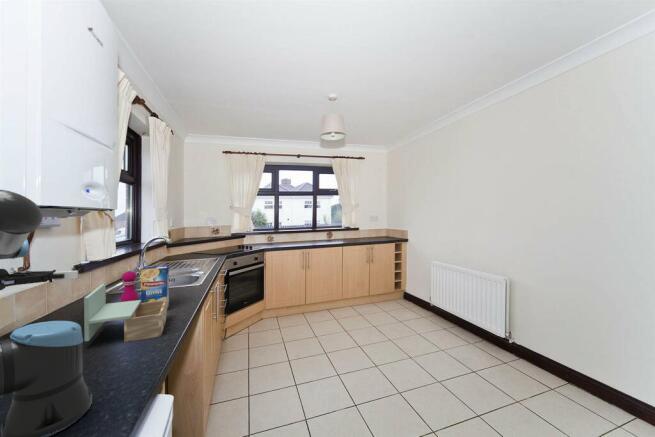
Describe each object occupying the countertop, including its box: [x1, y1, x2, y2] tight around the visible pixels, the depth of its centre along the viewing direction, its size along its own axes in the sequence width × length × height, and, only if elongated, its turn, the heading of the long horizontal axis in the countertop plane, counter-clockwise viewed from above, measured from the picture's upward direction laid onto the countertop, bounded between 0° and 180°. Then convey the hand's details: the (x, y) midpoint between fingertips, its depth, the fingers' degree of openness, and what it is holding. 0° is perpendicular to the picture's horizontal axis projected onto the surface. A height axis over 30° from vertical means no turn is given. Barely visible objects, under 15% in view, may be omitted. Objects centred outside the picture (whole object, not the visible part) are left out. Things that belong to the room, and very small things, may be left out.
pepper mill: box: [120, 268, 139, 302], centre depth 134 cm, size 7×7×20 cm
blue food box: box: [140, 264, 170, 312], centre depth 131 cm, size 7×11×22 cm, turn 115°
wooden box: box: [123, 300, 167, 343], centre depth 110 cm, size 18×12×9 cm, turn 26°
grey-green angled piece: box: [83, 283, 141, 342], centre depth 105 cm, size 19×14×16 cm
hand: (77, 274), depth 100 cm, fingers closed
